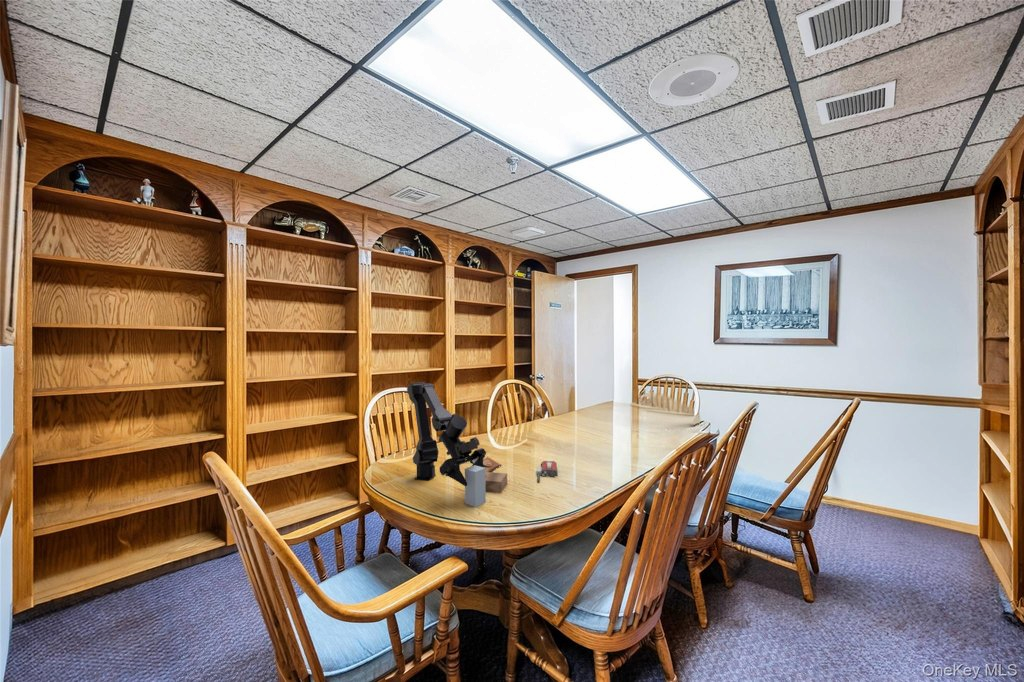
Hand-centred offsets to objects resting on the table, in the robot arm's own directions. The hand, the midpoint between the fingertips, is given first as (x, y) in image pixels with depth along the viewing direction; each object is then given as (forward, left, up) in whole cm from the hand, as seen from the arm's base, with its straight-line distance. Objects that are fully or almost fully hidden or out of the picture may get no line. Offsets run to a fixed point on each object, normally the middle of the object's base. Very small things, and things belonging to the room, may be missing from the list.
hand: (476, 481), depth 137 cm
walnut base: (+2, +15, -7) cm, 17 cm away
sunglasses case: (-7, +33, -8) cm, 35 cm away
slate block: (0, 0, -8) cm, 8 cm away
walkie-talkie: (+20, +34, -8) cm, 40 cm away
